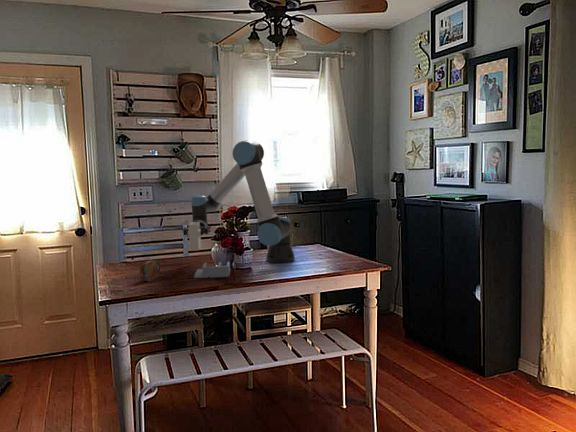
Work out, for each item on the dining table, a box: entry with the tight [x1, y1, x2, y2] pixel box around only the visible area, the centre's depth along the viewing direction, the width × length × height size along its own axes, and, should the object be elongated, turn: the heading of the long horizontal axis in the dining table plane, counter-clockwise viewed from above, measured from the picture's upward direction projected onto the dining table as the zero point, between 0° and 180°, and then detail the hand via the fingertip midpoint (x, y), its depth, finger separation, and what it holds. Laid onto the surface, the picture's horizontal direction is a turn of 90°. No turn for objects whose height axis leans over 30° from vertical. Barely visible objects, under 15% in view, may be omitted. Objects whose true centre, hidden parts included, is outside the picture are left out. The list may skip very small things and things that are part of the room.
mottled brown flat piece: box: [139, 259, 161, 282], centre depth 226 cm, size 15×3×8 cm, turn 168°
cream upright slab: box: [188, 221, 202, 252], centre depth 233 cm, size 4×12×12 cm, turn 5°
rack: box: [193, 261, 231, 279], centre depth 234 cm, size 16×16×5 cm
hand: (193, 234), depth 227 cm, fingers closed on cream upright slab, 4 cm apart
